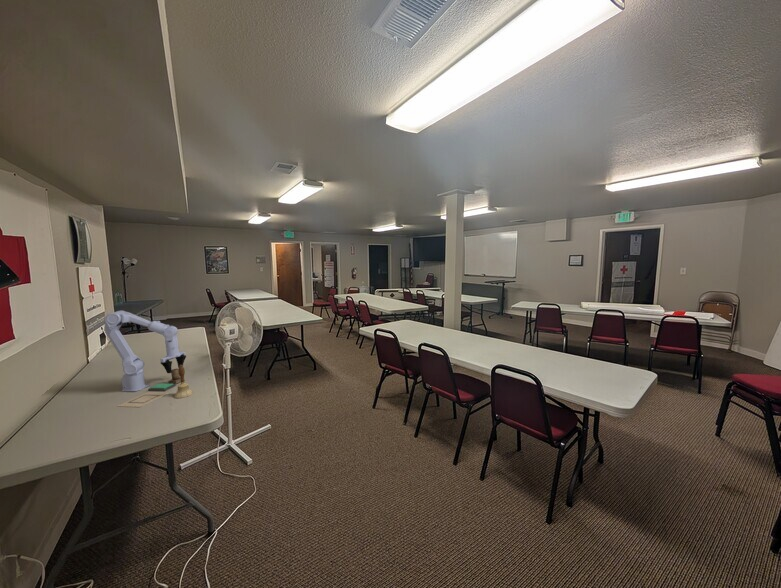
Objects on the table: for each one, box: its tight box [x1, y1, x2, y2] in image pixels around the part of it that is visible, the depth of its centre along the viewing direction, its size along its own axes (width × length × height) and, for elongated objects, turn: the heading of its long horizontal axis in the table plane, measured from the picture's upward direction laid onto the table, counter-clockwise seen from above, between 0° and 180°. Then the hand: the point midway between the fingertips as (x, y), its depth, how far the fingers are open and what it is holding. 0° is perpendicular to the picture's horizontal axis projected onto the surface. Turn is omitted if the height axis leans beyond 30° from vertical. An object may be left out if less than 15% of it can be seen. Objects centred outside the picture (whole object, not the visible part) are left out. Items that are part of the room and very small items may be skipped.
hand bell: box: [173, 364, 194, 399], centre depth 152 cm, size 8×8×16 cm
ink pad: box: [147, 382, 177, 392], centre depth 162 cm, size 10×7×2 cm
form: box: [117, 391, 170, 408], centre depth 149 cm, size 13×16×1 cm
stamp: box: [168, 368, 181, 385], centre depth 170 cm, size 5×5×8 cm
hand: (175, 370), depth 169 cm, fingers open, 7 cm apart
